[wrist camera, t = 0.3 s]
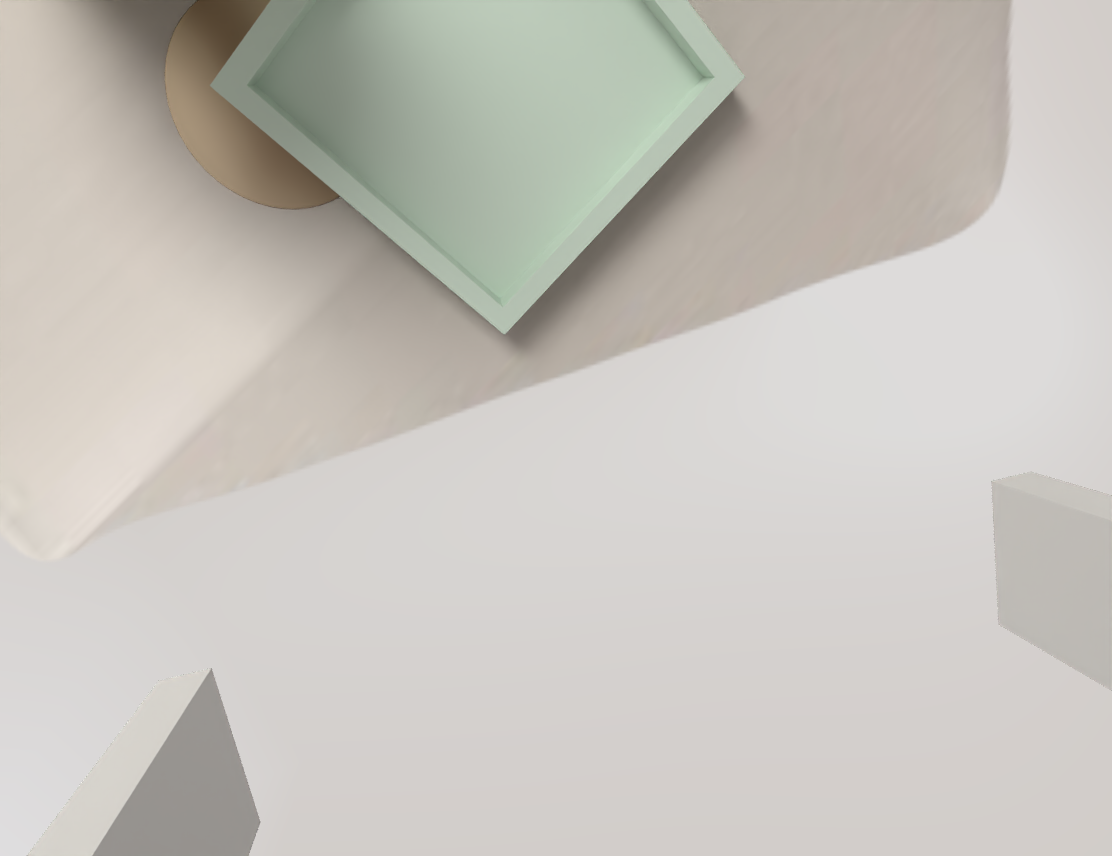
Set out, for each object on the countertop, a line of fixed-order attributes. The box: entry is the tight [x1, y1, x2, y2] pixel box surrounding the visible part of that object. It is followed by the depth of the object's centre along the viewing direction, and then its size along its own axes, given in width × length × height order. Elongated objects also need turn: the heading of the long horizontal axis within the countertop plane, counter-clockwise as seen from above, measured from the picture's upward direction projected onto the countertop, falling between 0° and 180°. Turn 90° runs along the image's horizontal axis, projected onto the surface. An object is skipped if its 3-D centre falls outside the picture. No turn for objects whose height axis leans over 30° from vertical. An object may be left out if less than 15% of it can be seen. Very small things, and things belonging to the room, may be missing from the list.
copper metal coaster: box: [165, 0, 340, 209], centre depth 30 cm, size 9×9×1 cm
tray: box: [210, 0, 745, 335], centre depth 30 cm, size 16×16×2 cm
